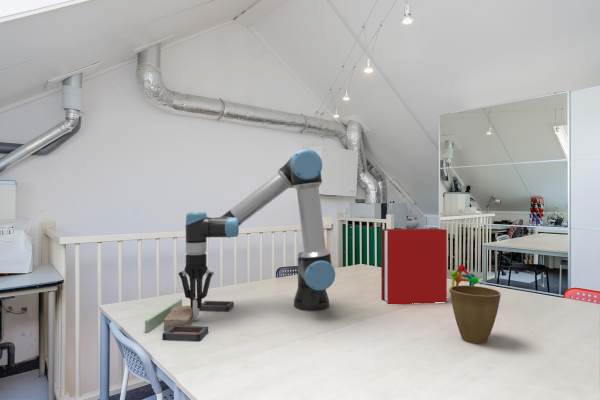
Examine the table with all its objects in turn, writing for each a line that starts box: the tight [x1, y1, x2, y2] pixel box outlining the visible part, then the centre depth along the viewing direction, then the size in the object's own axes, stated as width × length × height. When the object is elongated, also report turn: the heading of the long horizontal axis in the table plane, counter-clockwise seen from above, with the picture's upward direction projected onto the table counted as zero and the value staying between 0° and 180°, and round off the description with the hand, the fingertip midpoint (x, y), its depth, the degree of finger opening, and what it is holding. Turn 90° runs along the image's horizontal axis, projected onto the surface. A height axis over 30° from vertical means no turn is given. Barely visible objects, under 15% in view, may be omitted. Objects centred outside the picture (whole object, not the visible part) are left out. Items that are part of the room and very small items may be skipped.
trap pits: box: [161, 300, 235, 342], centre depth 141 cm, size 12×40×2 cm, turn 175°
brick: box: [163, 305, 195, 332], centre depth 138 cm, size 17×8×5 cm, turn 6°
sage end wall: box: [144, 298, 183, 333], centre depth 142 cm, size 1×28×4 cm, turn 175°
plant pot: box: [449, 284, 502, 344], centre depth 122 cm, size 15×15×16 cm
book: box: [381, 228, 448, 305], centre depth 168 cm, size 27×8×32 cm, turn 96°
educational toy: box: [448, 264, 479, 293], centre depth 178 cm, size 16×13×15 cm
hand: (196, 316), depth 141 cm, fingers closed
